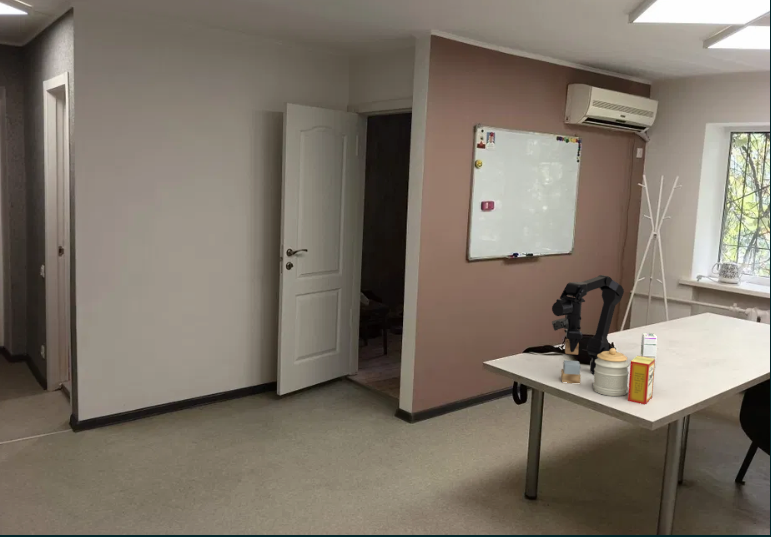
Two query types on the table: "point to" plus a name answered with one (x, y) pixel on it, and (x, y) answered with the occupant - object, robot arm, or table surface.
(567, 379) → the oak block
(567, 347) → the walnut cube
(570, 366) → the grey block
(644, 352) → the syrup box
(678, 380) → the table surface
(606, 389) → the jar
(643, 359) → the baking soda box
